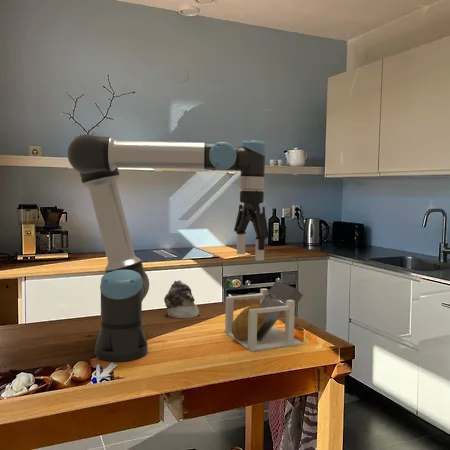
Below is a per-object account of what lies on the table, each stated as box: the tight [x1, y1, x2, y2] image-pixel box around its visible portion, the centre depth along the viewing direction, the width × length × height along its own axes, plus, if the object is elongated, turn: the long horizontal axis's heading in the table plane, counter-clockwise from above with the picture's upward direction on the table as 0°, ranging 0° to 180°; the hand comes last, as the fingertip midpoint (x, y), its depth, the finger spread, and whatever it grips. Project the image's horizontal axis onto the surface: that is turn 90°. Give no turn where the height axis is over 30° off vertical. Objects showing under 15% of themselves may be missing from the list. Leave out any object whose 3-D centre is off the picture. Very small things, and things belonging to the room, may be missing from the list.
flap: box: [257, 280, 304, 342], centre depth 156 cm, size 20×14×4 cm
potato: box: [232, 303, 265, 340], centre depth 151 cm, size 9×13×7 cm
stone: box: [163, 279, 200, 319], centre depth 179 cm, size 14×10×15 cm
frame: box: [224, 288, 304, 353], centre depth 154 cm, size 18×20×14 cm
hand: (249, 257), depth 152 cm, fingers open, 13 cm apart
